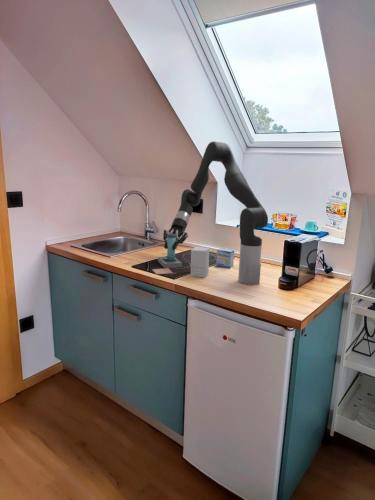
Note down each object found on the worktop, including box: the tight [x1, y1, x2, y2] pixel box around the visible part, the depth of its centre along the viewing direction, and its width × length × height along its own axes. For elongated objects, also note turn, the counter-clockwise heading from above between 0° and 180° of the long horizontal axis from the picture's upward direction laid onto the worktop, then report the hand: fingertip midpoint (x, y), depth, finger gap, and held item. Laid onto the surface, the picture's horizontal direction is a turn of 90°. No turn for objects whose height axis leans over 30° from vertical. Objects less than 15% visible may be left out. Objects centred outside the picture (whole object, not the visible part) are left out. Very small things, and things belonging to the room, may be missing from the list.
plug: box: [166, 233, 176, 262], centre depth 191 cm, size 5×5×14 cm
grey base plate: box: [157, 256, 183, 269], centre depth 193 cm, size 14×9×2 cm, turn 19°
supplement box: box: [190, 246, 210, 278], centre depth 177 cm, size 7×7×13 cm
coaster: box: [152, 268, 173, 275], centre depth 180 cm, size 8×8×1 cm
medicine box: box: [215, 248, 235, 269], centre depth 193 cm, size 8×4×9 cm, turn 62°
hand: (169, 248), depth 190 cm, fingers closed on plug, 4 cm apart
